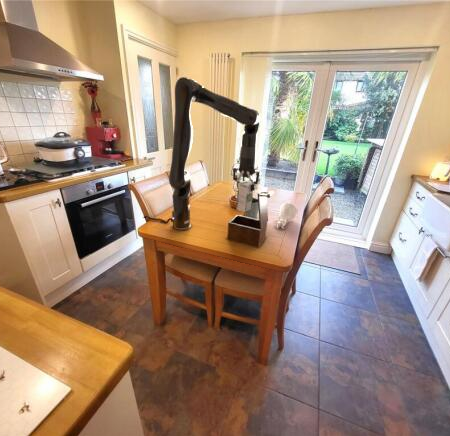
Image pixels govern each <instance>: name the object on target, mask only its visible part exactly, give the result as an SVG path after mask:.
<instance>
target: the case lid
mask: <svg viewBox="0 0 450 436" xmlns="http://www.w3.org/2000/svg"><path fill="white" fill-rule="evenodd" d="M267 190H268V189H267V186H264V187H263V188H262V189H261V190H260V191H258V192H257V199H258V220H259V226H260V230H261V229H262V228H263V227H264V225H265V224H266V223H267V224H268V222H269V212H268V209H269V208H268V199H270V198H271V197H272V196H273V195H274V193H275V192H274V190H270V191H267Z"/></svg>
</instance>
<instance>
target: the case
mask: <svg viewBox="0 0 450 436" xmlns="http://www.w3.org/2000/svg"><path fill="white" fill-rule="evenodd" d="M267 228H268V222H267V223H266V224H265V225H264V227H263V228H262V229H261V230H260V226H259V218H257V219H254V218H249V217H245V216H244V215H240V214H236V215H235V216H234V217H233V218H232V219H230V220H229V221H228V222H227V240H230V241H234V242H237V243H241V244H245V245H248V246H252V247H256V248H259V247H260V246H261V245H262V243H263V242H264V241H265V239H266V235H267Z"/></svg>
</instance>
